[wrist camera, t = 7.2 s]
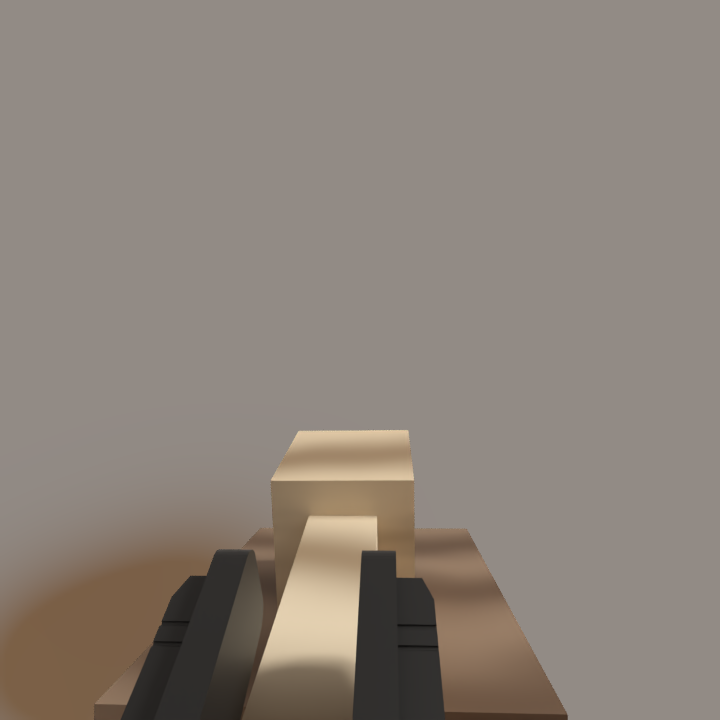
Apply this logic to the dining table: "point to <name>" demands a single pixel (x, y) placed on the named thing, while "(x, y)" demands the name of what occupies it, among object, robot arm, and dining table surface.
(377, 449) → the mallet
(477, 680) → the stand
